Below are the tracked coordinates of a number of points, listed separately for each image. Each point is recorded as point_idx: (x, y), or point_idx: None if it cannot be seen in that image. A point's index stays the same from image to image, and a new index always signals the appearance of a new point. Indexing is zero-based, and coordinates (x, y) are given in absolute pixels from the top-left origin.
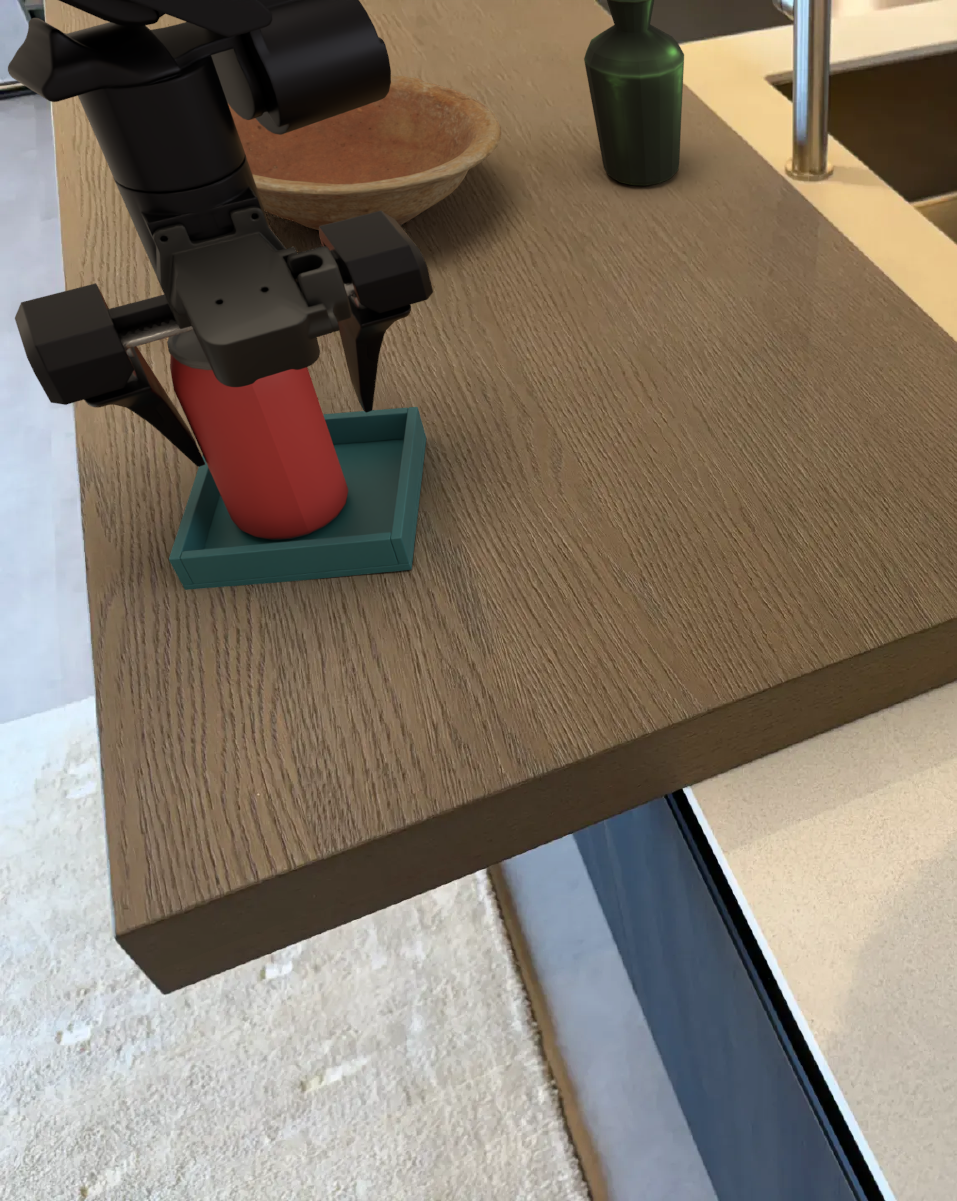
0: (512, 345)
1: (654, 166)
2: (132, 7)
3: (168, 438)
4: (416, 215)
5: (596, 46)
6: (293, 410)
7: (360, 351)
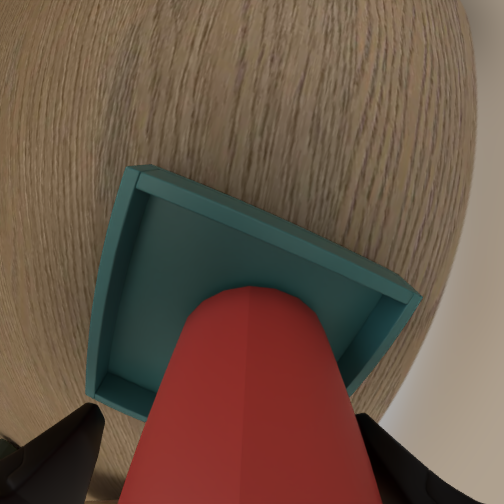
0: (53, 410)
1: (1, 447)
2: None
3: (414, 458)
4: (113, 501)
5: None
6: (164, 466)
7: (19, 477)
